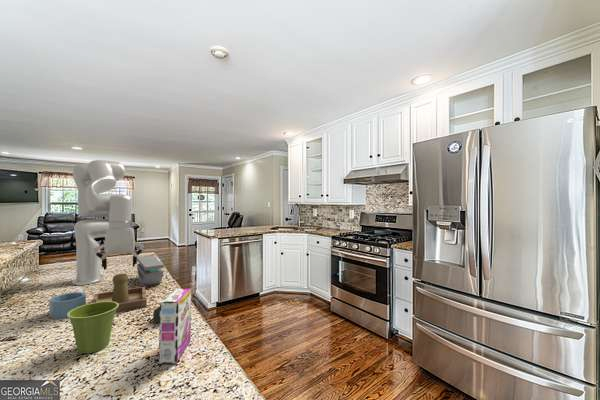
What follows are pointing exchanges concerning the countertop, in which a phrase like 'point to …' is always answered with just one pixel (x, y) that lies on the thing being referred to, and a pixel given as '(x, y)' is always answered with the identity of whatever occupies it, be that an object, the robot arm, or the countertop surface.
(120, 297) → the olive brown bulbous cylinder
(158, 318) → the smart speaker
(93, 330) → the plant pot
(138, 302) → the tray
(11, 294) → the countertop surface
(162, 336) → the candy bar box
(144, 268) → the grey lidded box
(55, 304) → the blue hollow cylinder
